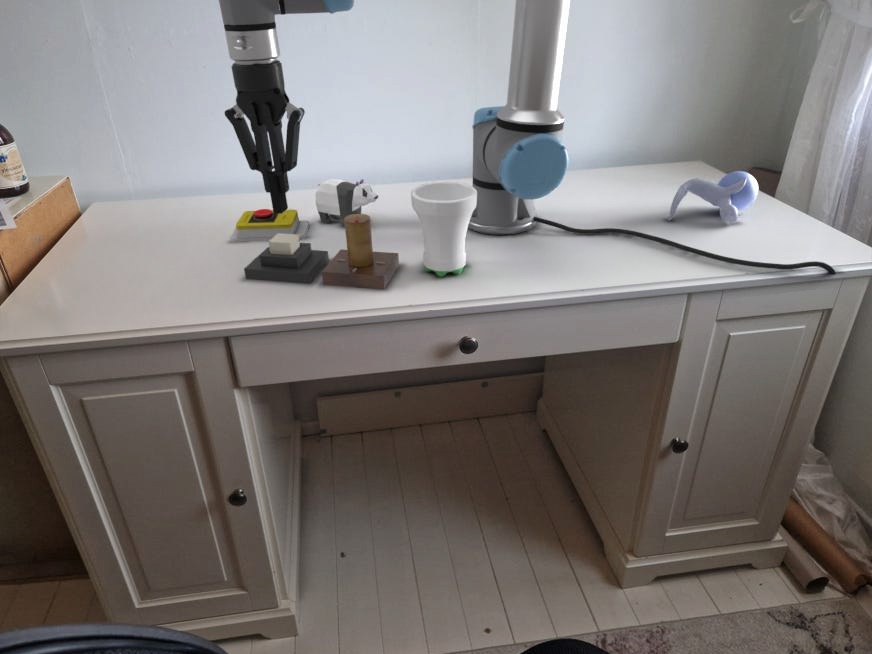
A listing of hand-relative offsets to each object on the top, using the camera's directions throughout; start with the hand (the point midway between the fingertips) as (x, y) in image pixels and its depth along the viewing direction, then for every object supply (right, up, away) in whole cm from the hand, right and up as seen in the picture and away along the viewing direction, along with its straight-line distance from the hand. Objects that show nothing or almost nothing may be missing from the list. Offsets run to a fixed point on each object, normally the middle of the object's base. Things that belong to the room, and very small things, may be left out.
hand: (280, 210), depth 108 cm
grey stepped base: (0, -9, +6) cm, 11 cm away
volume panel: (+14, -11, +3) cm, 18 cm away
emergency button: (-7, +1, +22) cm, 23 cm away
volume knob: (+14, -9, +2) cm, 16 cm away
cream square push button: (0, -6, +4) cm, 8 cm away
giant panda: (+8, +4, +26) cm, 28 cm away
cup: (+28, -9, +5) cm, 30 cm away
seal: (+85, +4, +24) cm, 89 cm away
